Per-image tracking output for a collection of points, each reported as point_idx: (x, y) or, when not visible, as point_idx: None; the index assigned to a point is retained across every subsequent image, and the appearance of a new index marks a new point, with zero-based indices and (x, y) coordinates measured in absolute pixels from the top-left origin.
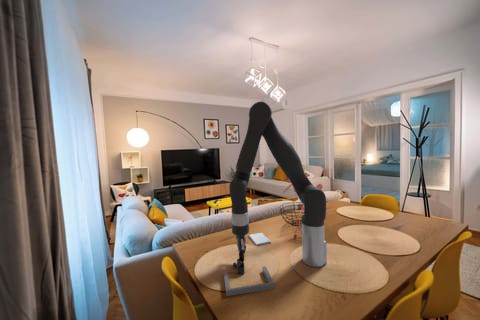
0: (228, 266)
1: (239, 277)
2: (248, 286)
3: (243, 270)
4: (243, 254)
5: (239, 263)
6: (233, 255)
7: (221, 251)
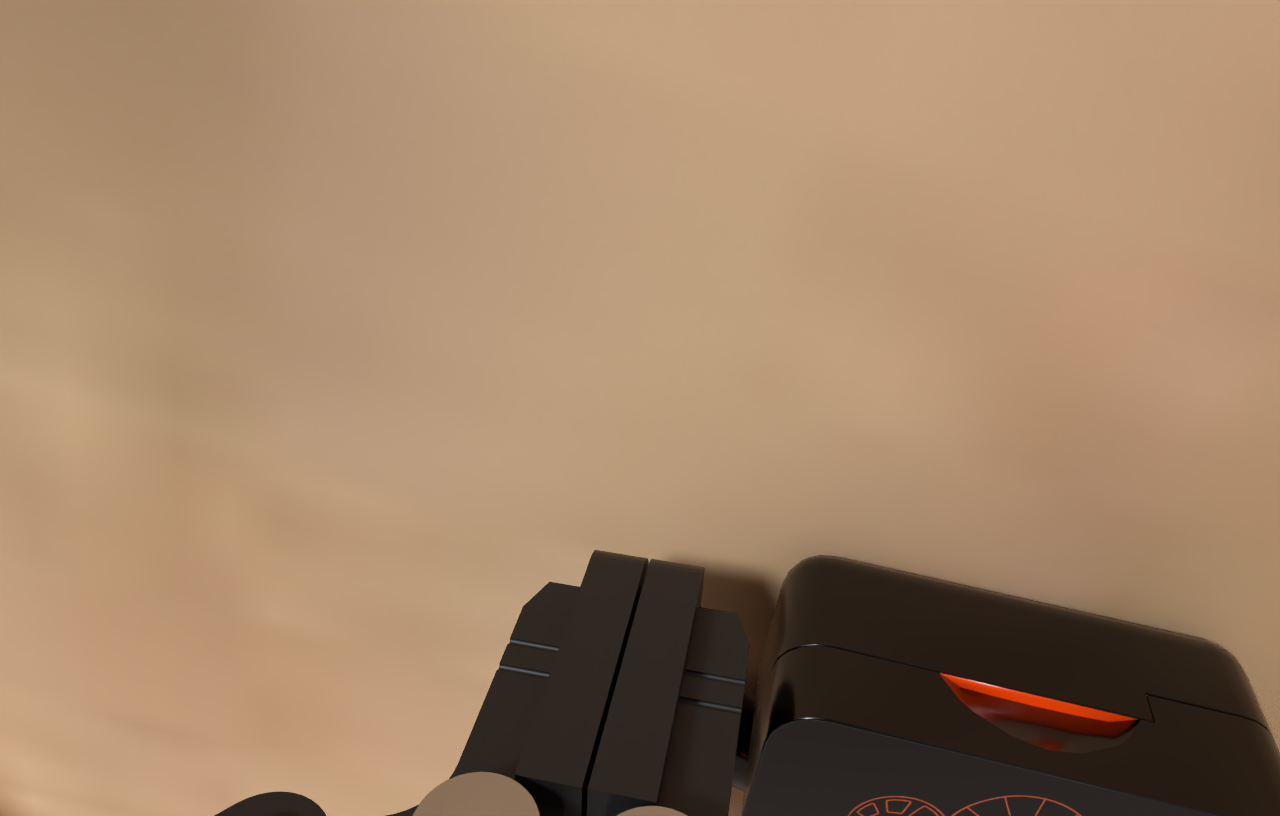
0: None
1: None
2: None
3: (1274, 755)
4: (669, 752)
5: None
6: (242, 589)
7: (73, 736)
